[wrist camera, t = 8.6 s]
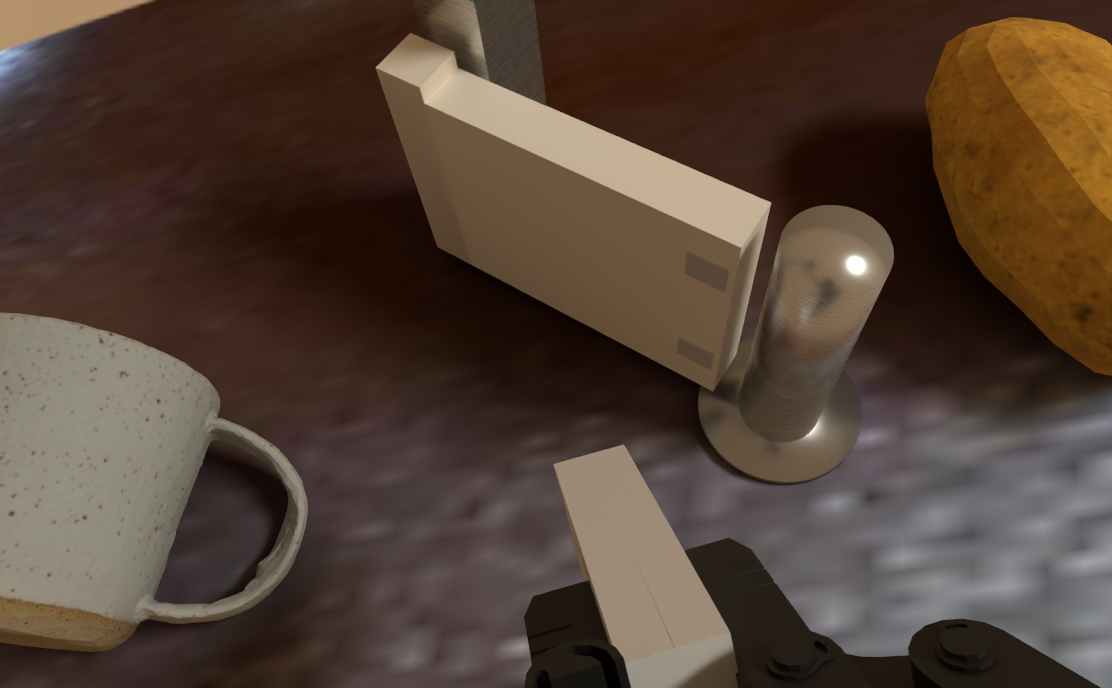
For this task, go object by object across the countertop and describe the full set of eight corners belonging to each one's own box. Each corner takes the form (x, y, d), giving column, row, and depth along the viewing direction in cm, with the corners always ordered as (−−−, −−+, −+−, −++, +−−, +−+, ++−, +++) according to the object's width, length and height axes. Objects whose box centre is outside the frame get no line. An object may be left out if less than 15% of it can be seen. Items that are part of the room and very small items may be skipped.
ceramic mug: (-46, 652, 26) (-279, 597, 19) (53, 409, 30) (-112, 293, 23) (286, 678, 25) (164, 631, 18) (342, 424, 29) (259, 307, 22)
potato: (1014, 451, 26) (1127, 346, 20) (865, 131, 33) (917, -17, 27) (1255, 408, 26) (1438, 291, 20) (1057, 98, 33) (1150, -57, 27)
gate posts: (422, 219, 32) (322, -62, 22) (517, 142, 34) (466, -154, 23) (794, 518, 26) (907, 317, 15) (891, 404, 27) (1055, 150, 17)
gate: (736, 353, 28) (775, 185, 20) (712, 392, 27) (743, 234, 20) (463, 216, 32) (411, 32, 24) (436, 247, 31) (374, 69, 23)
